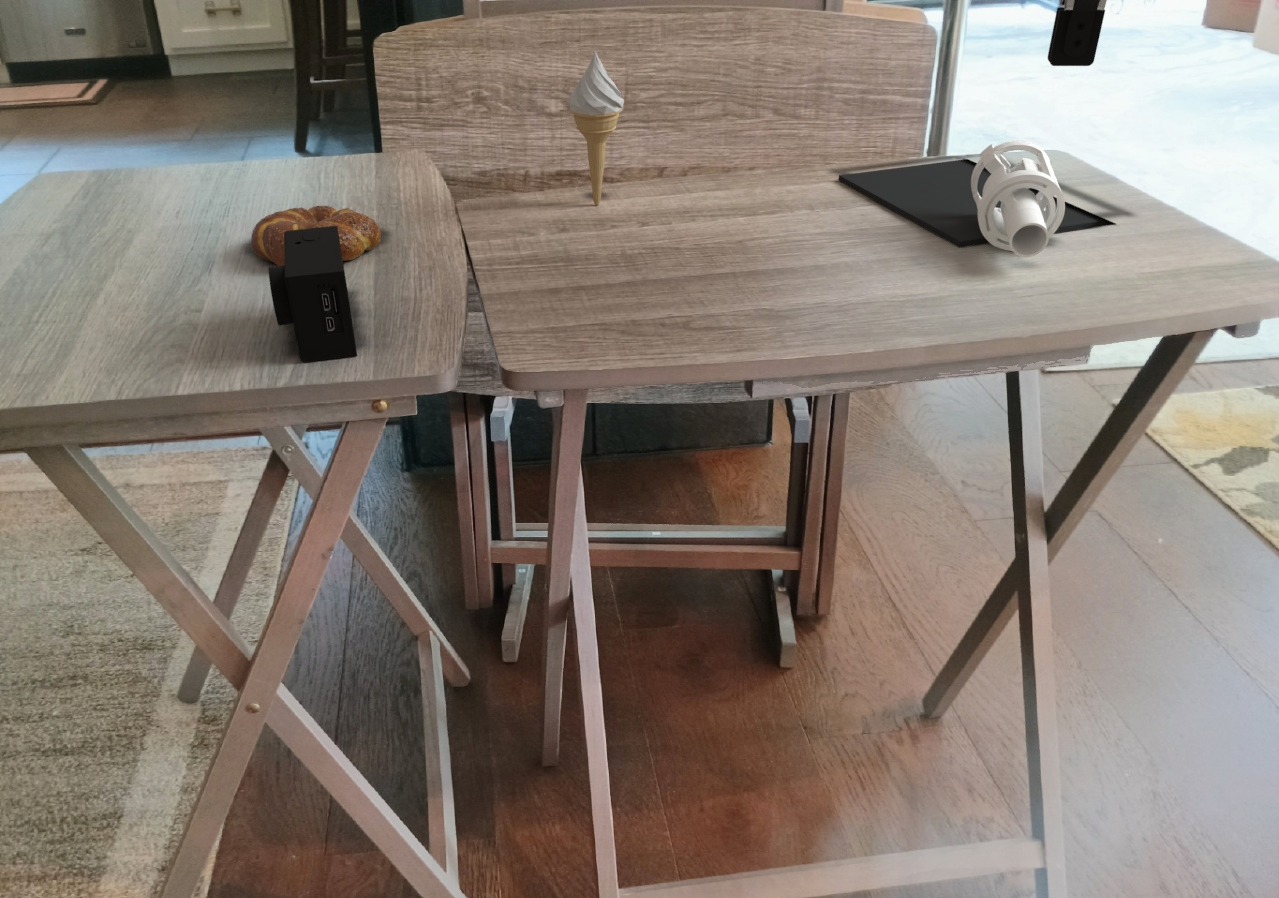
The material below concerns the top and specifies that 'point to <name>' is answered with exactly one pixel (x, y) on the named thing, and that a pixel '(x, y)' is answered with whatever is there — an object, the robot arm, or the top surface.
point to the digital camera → (314, 294)
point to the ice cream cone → (596, 116)
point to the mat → (946, 199)
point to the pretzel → (352, 227)
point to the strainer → (1018, 199)
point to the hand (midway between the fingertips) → (1069, 63)
